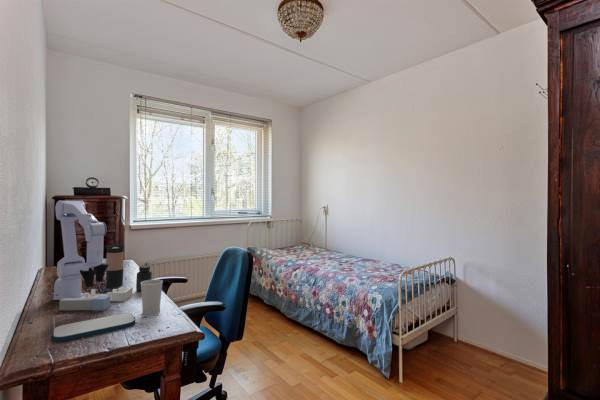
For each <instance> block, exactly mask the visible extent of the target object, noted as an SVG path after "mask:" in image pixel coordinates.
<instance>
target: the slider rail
mask: <svg viewBox="0 0 600 400" xmlns="http://www.w3.org/2000/svg"><path fill="white" fill-rule="evenodd" d="M96 291H97V290H96V288H95V289H91V290H90V292H83V293H84V295H83V296H81V297H79V298H96V297H98V296H110V302H125V301H127V300H128V299H129V298H130V297H132V296H133V295H134V293H133V287H118V288H113V289H112V292H110V291H108V292H106V293H96Z"/></svg>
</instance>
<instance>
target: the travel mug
mask: <svg viewBox="0 0 600 400" xmlns="http://www.w3.org/2000/svg"><path fill="white" fill-rule="evenodd" d="M124 249H125V248H124V246H122V245H113V246H108V247H106V258H105V259H106V263H105V264H108V267H107V269H106V271H105V273H106V274H105V278H106V283H105V284H106V287H107V288H109V289H112V288H113V289H115V288H120V287H122V286H123V283H124V282H123V281H124V255H125V254H124V253H125V252H124V251H125V250H124ZM119 286H120V287H119Z"/></svg>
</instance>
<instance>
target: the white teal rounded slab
mask: <svg viewBox="0 0 600 400" xmlns="http://www.w3.org/2000/svg"><path fill="white" fill-rule="evenodd" d="M135 324H136V318H135V316H134V315H133V314H132V313H129V312H128V313H127V312H126V313H119V314H113V315H108V316H104V317H98V318H92V319H87V320H81V321H77V322H71V323H66V324H61V325H59V326H56V327H55V328H53V329H52V330H53V331H52V341H53V342H55V343H60V342H61V343H62V342H67V341H72V340H77V339H81V338H82V339H83V338H87V337H90V336H95V335H96V336H97V335H100V334H105V333H110V332H114V331H119V330H124V329H128V328H131V327H133V326H134V325H135Z"/></svg>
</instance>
